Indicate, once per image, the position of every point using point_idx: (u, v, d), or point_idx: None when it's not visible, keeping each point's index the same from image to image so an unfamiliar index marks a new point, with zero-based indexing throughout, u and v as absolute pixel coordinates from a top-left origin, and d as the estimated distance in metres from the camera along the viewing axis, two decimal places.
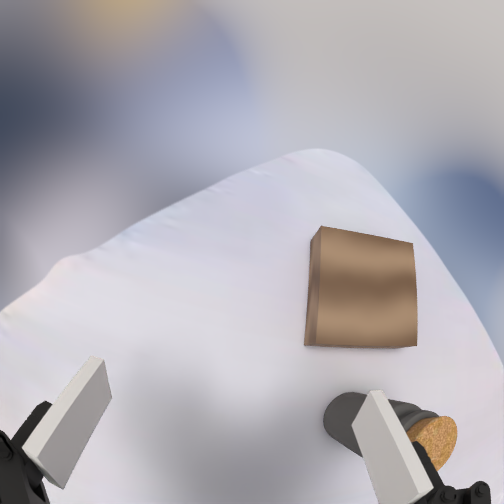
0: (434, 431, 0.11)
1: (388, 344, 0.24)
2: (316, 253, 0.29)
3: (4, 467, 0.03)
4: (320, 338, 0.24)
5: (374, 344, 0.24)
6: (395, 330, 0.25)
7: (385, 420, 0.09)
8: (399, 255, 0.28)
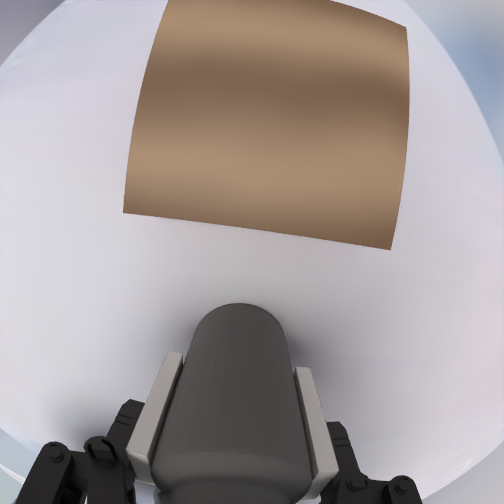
0: None
1: (309, 233, 0.11)
2: None
3: (101, 474, 0.05)
4: (132, 201, 0.11)
5: (268, 227, 0.11)
6: (334, 200, 0.11)
7: (303, 395, 0.11)
8: (366, 37, 0.09)
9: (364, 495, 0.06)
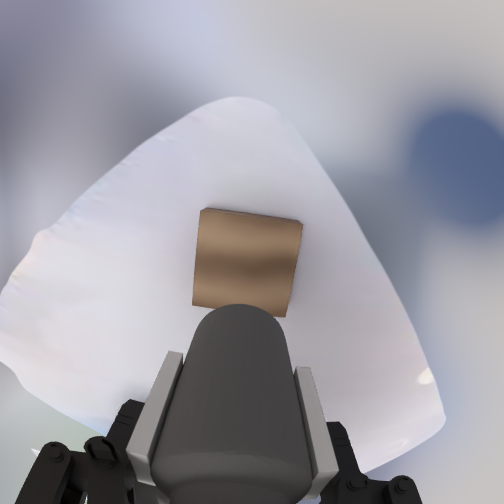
0: None
1: None
2: None
3: (101, 474, 0.05)
4: (195, 302, 0.34)
5: None
6: (263, 302, 0.34)
7: (303, 395, 0.11)
8: (281, 238, 0.32)
9: (364, 495, 0.06)
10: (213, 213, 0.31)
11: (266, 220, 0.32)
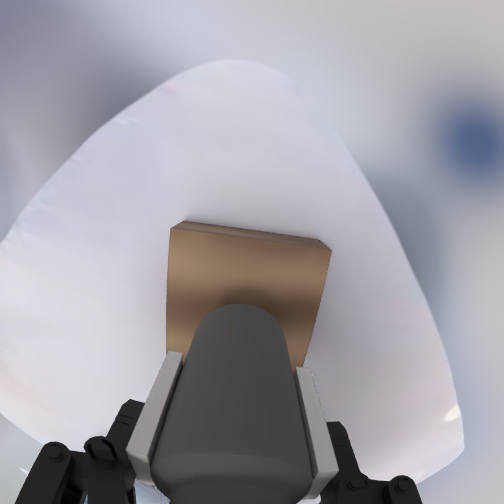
0: None
1: None
2: None
3: (101, 474, 0.05)
4: None
5: None
6: None
7: (303, 395, 0.11)
8: (297, 270, 0.20)
9: (364, 495, 0.06)
10: (190, 232, 0.20)
11: (274, 243, 0.20)
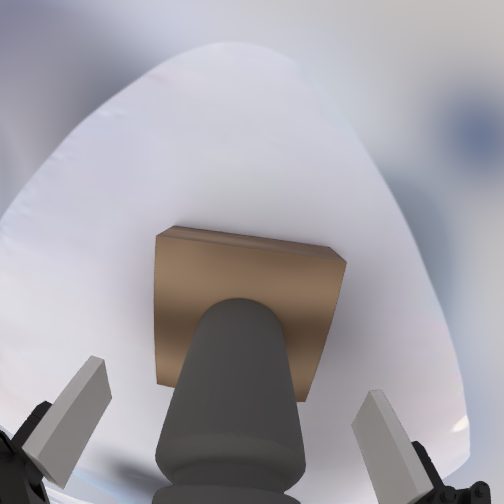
0: None
1: None
2: None
3: (4, 467, 0.03)
4: (161, 380, 0.19)
5: None
6: None
7: (385, 420, 0.09)
8: (306, 286, 0.17)
9: None
10: (179, 241, 0.16)
11: (280, 254, 0.17)
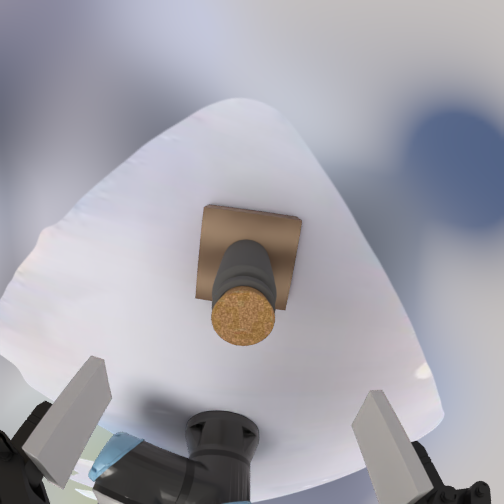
0: (239, 302, 0.19)
1: None
2: None
3: (4, 467, 0.03)
4: (198, 295, 0.35)
5: None
6: None
7: (385, 420, 0.09)
8: (280, 233, 0.33)
9: None
10: (216, 209, 0.33)
11: (267, 216, 0.33)
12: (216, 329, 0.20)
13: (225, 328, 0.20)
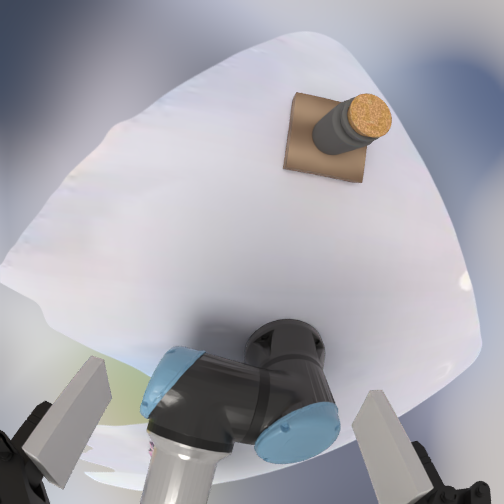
0: (369, 101, 0.22)
1: (338, 176, 0.38)
2: (293, 109, 0.37)
3: (4, 467, 0.03)
4: (289, 164, 0.38)
5: (327, 174, 0.38)
6: (345, 167, 0.38)
7: (385, 420, 0.09)
8: None
9: None
10: (306, 94, 0.35)
11: None
12: (354, 119, 0.23)
13: (360, 119, 0.23)
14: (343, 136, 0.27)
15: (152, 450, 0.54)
